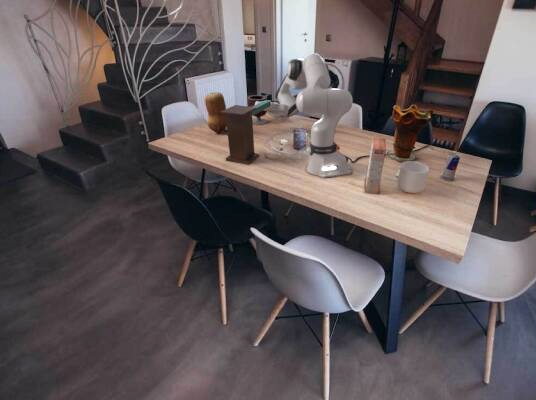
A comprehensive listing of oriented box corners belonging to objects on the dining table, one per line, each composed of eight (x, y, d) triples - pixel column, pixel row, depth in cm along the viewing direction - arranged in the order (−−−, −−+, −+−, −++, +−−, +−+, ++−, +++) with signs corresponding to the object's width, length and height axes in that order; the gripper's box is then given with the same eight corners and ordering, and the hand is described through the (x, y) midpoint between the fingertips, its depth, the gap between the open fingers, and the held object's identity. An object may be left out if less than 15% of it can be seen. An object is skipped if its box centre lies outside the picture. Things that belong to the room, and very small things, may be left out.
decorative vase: (428, 155, 175) (441, 105, 160) (409, 167, 160) (422, 113, 146) (395, 145, 187) (404, 98, 172) (375, 156, 172) (383, 105, 158)
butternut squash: (207, 130, 202) (201, 90, 189) (227, 128, 207) (223, 89, 194) (211, 137, 192) (205, 95, 179) (232, 134, 197) (228, 94, 184)
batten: (265, 105, 182) (265, 99, 180) (271, 105, 181) (271, 100, 179) (247, 114, 164) (247, 108, 163) (253, 115, 163) (253, 109, 162)
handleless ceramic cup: (413, 198, 133) (419, 174, 127) (390, 187, 140) (395, 165, 135) (428, 190, 139) (434, 167, 134) (405, 180, 147) (410, 159, 142)
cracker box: (379, 194, 135) (386, 149, 124) (365, 192, 136) (371, 148, 125) (378, 179, 147) (386, 137, 136) (366, 178, 148) (372, 136, 137)
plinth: (238, 151, 172) (234, 104, 159) (259, 155, 169) (257, 107, 155) (225, 161, 161) (219, 111, 148) (247, 165, 157) (243, 114, 144)
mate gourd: (246, 124, 216) (244, 94, 206) (252, 118, 228) (250, 90, 217) (267, 125, 214) (266, 96, 204) (272, 120, 226) (272, 91, 215)
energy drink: (452, 181, 147) (459, 158, 141) (440, 178, 150) (447, 155, 144) (454, 177, 151) (461, 154, 145) (442, 174, 154) (449, 152, 148)
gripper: (261, 103, 194) (251, 95, 181) (291, 106, 189) (283, 99, 175) (259, 113, 195) (249, 106, 181) (289, 117, 189) (281, 110, 176)
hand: (266, 103), depth 178 cm, fingers closed on batten, 3 cm apart
